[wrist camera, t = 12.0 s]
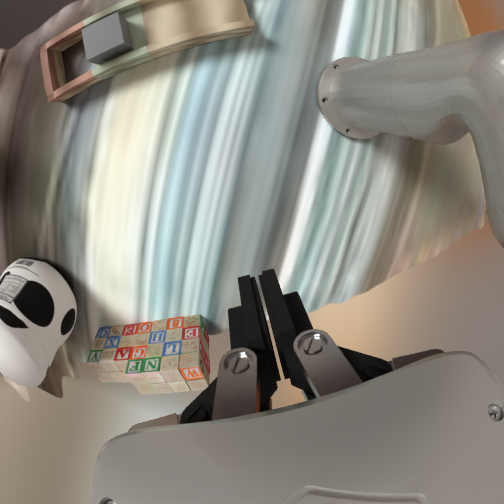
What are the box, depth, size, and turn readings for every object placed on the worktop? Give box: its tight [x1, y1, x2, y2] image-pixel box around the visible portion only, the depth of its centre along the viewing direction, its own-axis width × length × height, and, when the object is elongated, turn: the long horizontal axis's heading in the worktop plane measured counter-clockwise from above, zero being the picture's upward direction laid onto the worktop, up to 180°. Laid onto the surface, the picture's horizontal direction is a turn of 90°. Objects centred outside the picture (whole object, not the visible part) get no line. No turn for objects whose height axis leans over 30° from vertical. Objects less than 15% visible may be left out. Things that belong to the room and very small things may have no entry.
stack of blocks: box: [87, 314, 210, 395], centre depth 43 cm, size 21×6×12 cm, turn 98°
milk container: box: [0, 257, 77, 387], centre depth 33 cm, size 17×17×18 cm
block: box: [82, 12, 134, 65], centre depth 22 cm, size 5×5×4 cm
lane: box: [40, 0, 255, 102], centre depth 23 cm, size 28×10×4 cm, turn 103°
